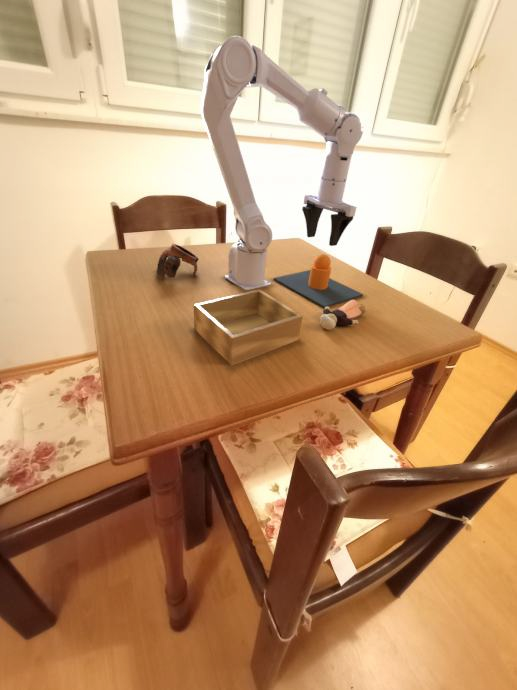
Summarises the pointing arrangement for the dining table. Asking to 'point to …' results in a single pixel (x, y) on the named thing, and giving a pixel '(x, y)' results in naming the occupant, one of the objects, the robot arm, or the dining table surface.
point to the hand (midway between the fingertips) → (321, 240)
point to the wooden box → (246, 324)
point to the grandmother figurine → (342, 315)
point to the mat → (324, 297)
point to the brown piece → (175, 261)
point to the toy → (320, 272)
